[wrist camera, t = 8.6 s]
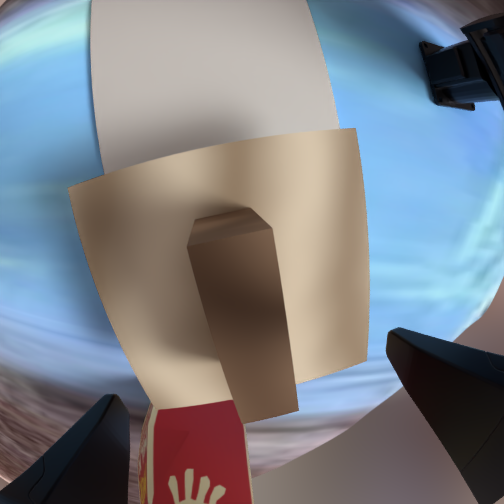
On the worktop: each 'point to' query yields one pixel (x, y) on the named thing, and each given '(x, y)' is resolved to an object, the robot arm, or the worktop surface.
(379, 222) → the worktop surface
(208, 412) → the milk carton
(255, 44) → the tray
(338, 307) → the lid
